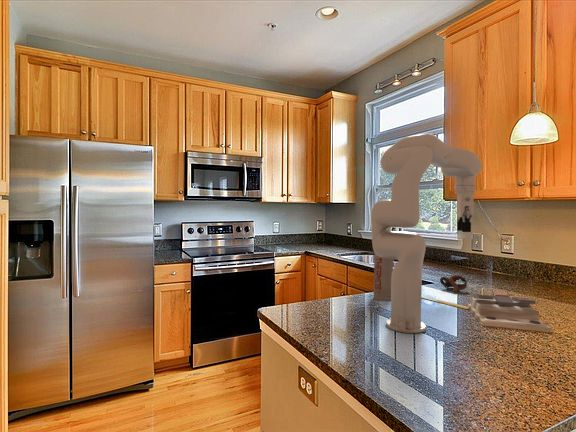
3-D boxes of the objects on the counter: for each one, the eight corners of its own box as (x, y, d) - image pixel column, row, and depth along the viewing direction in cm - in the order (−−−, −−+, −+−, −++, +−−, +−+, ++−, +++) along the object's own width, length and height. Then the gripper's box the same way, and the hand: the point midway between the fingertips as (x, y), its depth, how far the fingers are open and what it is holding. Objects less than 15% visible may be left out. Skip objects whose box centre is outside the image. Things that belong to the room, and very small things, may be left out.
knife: (404, 290, 162) (398, 290, 159) (474, 307, 135) (468, 307, 133) (403, 293, 162) (398, 293, 159) (473, 310, 135) (468, 310, 132)
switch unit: (551, 332, 109) (551, 315, 109) (481, 325, 115) (482, 309, 115) (525, 312, 130) (525, 298, 130) (467, 307, 136) (468, 294, 136)
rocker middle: (513, 306, 121) (514, 302, 121) (498, 304, 122) (498, 301, 122) (506, 296, 128) (507, 292, 128) (492, 295, 130) (492, 291, 130)
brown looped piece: (463, 289, 169) (469, 277, 165) (462, 301, 162) (468, 289, 157) (438, 281, 173) (443, 268, 169) (436, 292, 166) (440, 280, 162)
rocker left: (493, 299, 123) (493, 295, 123) (478, 298, 124) (478, 294, 124) (487, 299, 130) (487, 295, 130) (473, 298, 132) (473, 294, 132)
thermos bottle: (380, 301, 143) (382, 235, 143) (369, 296, 151) (371, 234, 150) (396, 299, 146) (397, 235, 146) (384, 295, 154) (385, 233, 153)
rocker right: (535, 304, 119) (535, 299, 119) (519, 302, 120) (519, 298, 120) (526, 301, 126) (526, 297, 127) (511, 300, 128) (511, 296, 128)
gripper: (480, 189, 132) (479, 233, 132) (470, 191, 148) (469, 230, 149) (458, 189, 134) (457, 232, 134) (451, 191, 150) (450, 229, 151)
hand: (463, 231), depth 141 cm, fingers open, 9 cm apart
